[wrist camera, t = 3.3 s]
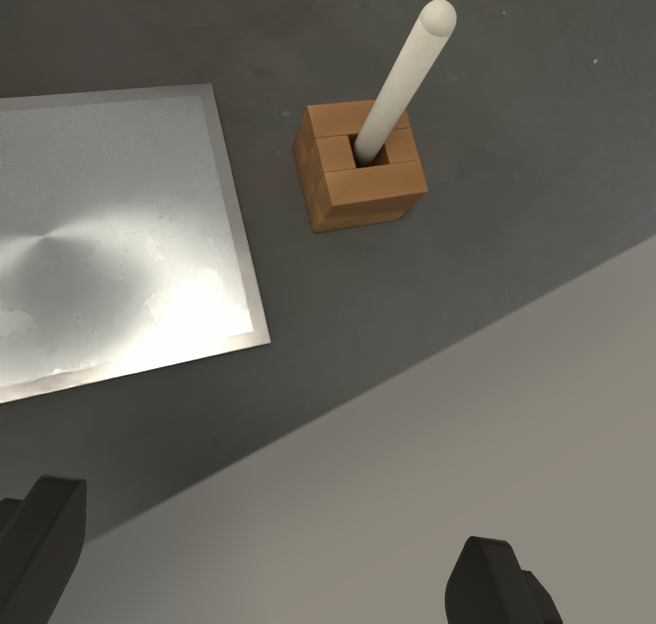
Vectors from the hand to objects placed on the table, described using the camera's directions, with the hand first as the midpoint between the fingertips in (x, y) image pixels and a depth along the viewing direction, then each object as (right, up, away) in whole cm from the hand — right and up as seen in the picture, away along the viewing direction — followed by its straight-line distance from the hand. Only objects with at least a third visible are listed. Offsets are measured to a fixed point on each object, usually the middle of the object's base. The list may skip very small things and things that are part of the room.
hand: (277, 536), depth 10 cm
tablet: (-15, +9, +18) cm, 25 cm away
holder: (+2, +13, +23) cm, 27 cm away
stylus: (+2, +13, +23) cm, 27 cm away
